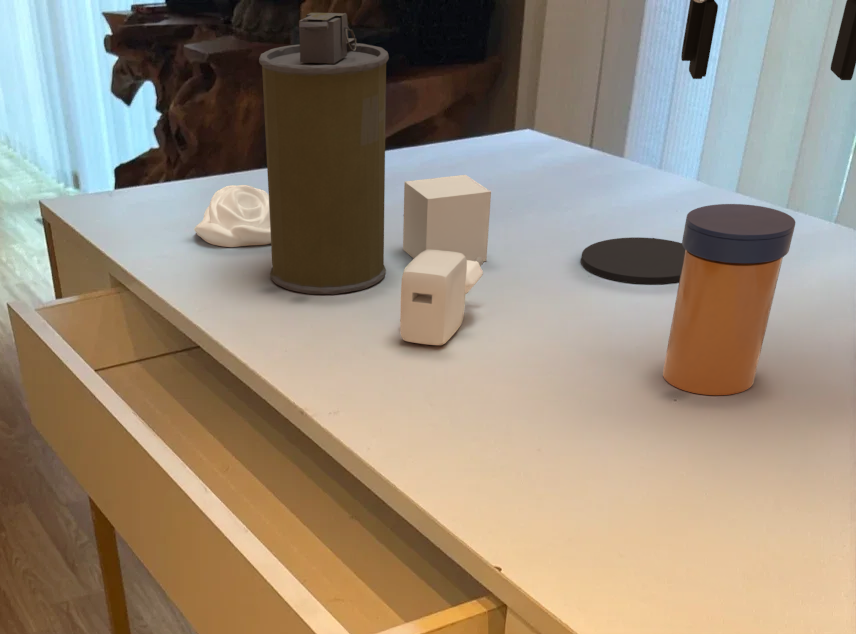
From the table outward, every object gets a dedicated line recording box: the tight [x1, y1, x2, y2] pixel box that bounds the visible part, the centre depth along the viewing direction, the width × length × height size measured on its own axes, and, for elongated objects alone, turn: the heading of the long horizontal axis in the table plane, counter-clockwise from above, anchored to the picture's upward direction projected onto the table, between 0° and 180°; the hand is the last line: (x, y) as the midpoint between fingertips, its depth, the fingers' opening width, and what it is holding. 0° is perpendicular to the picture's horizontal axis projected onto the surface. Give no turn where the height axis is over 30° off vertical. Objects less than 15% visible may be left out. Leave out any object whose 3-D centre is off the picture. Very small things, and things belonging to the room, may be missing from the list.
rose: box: [193, 184, 271, 248], centre depth 109 cm, size 10×4×10 cm
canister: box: [258, 12, 390, 295], centre depth 95 cm, size 11×10×20 cm
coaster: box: [580, 236, 685, 285], centre depth 101 cm, size 11×11×1 cm
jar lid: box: [681, 203, 796, 263], centre depth 75 cm, size 7×7×2 cm
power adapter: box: [399, 250, 484, 346], centre depth 89 cm, size 11×5×6 cm, turn 157°
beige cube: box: [402, 174, 492, 263], centre depth 102 cm, size 6×6×6 cm
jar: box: [662, 250, 784, 396], centre depth 78 cm, size 6×6×11 cm
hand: (768, 73), depth 69 cm, fingers open, 8 cm apart
